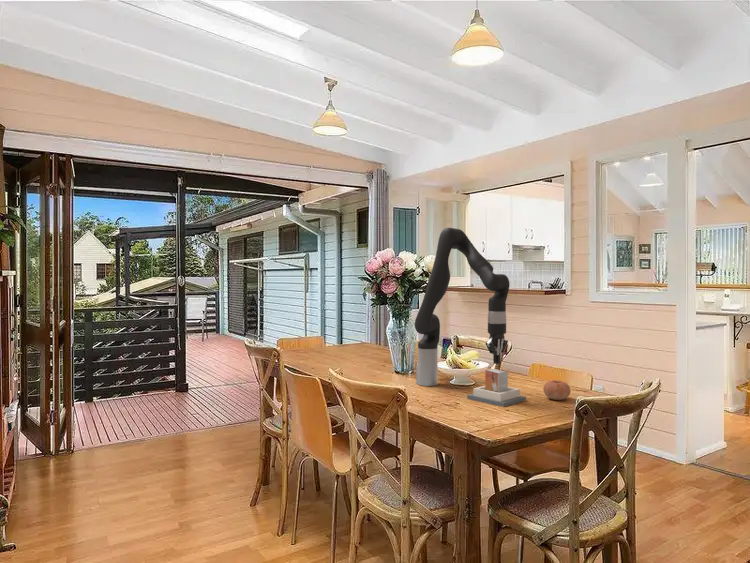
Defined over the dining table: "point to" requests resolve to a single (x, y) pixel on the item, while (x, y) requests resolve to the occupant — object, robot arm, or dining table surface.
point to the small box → (496, 380)
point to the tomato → (556, 390)
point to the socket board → (496, 396)
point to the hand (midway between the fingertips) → (496, 363)
